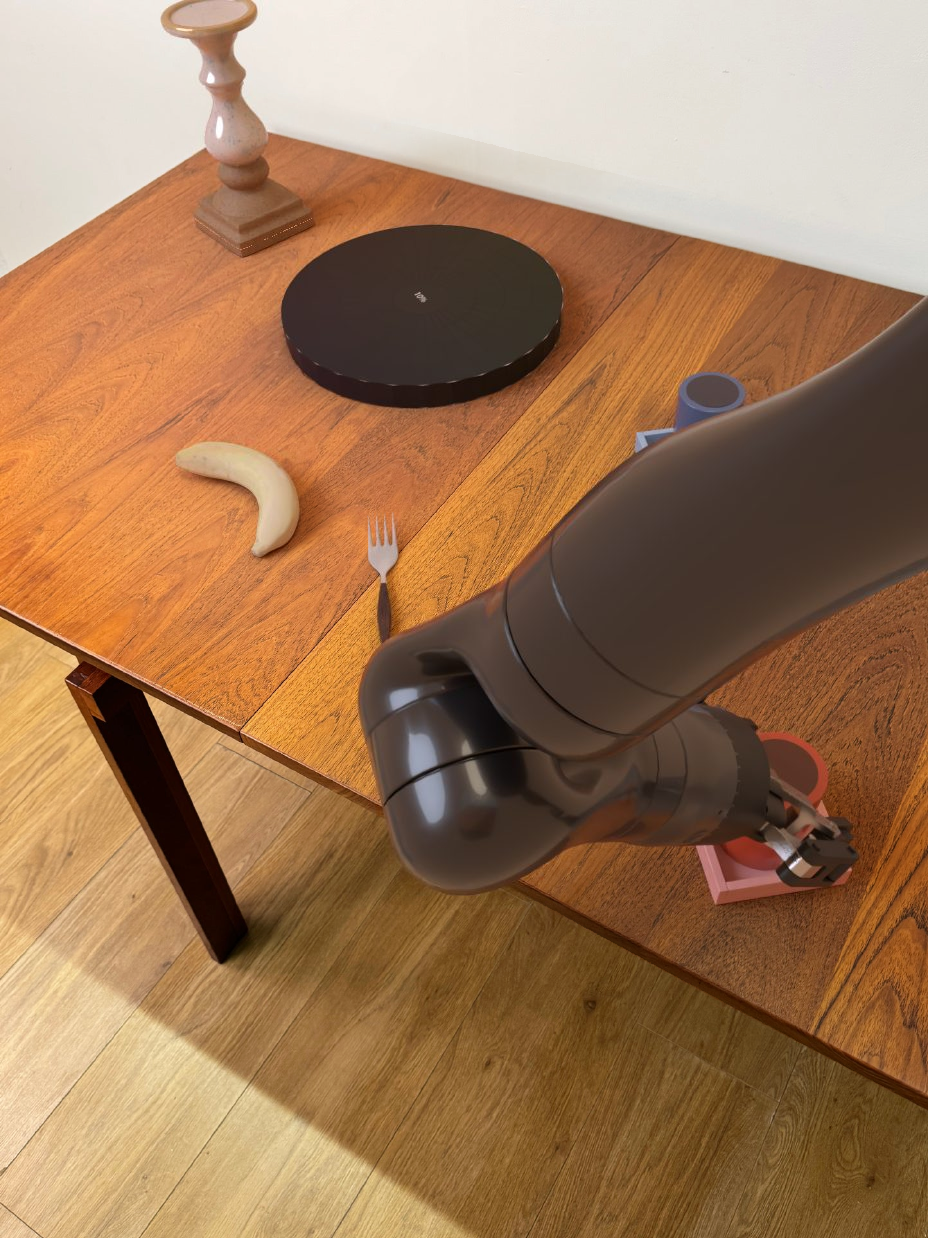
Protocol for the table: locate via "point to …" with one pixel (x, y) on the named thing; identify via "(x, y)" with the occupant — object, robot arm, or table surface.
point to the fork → (383, 573)
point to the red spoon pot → (801, 772)
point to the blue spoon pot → (707, 397)
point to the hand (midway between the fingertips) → (790, 782)
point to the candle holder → (234, 134)
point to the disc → (422, 315)
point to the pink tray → (746, 875)
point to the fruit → (250, 486)
